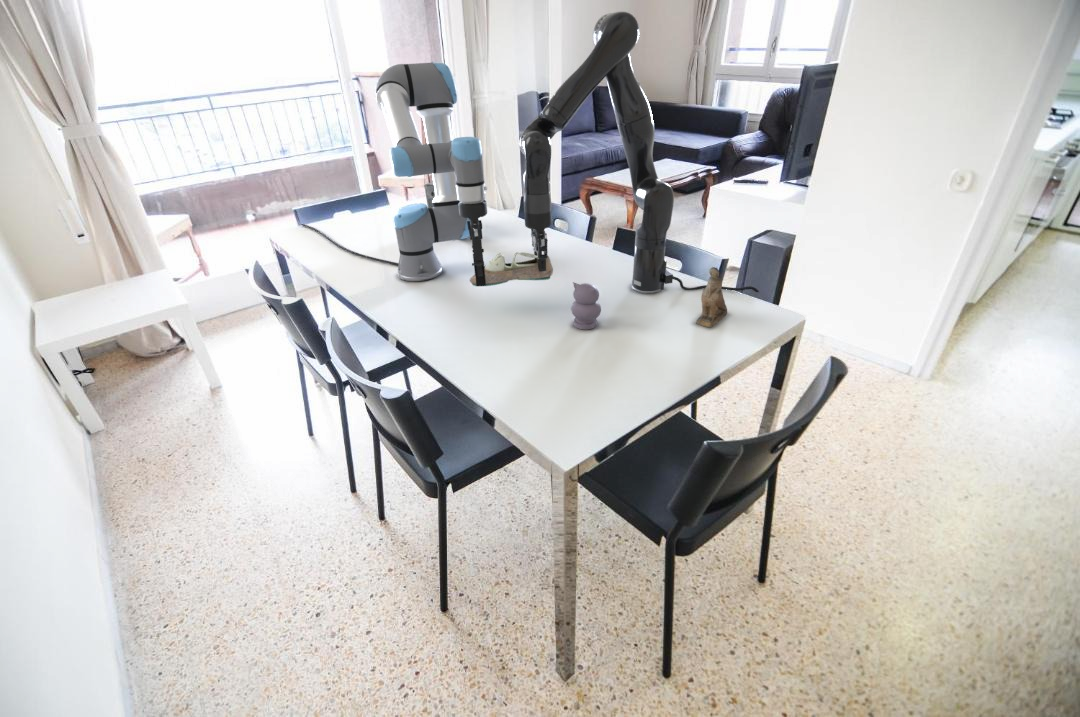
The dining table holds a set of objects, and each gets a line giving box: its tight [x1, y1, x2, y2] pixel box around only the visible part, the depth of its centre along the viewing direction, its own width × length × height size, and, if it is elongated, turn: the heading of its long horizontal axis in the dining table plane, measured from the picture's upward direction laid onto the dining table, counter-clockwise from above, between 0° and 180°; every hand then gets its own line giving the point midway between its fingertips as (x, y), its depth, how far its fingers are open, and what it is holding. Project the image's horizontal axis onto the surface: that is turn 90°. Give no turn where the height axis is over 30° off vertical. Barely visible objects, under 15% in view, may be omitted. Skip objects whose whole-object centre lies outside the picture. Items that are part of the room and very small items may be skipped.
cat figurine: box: [570, 281, 602, 331], centre depth 136 cm, size 8×8×12 cm
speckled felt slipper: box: [469, 251, 554, 287], centre depth 144 cm, size 8×25×8 cm, turn 100°
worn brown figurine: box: [695, 266, 728, 328], centre depth 135 cm, size 12×6×18 cm, turn 136°
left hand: (480, 279), depth 145 cm, fingers closed on speckled felt slipper, 7 cm apart
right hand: (540, 266), depth 145 cm, fingers closed on speckled felt slipper, 6 cm apart
